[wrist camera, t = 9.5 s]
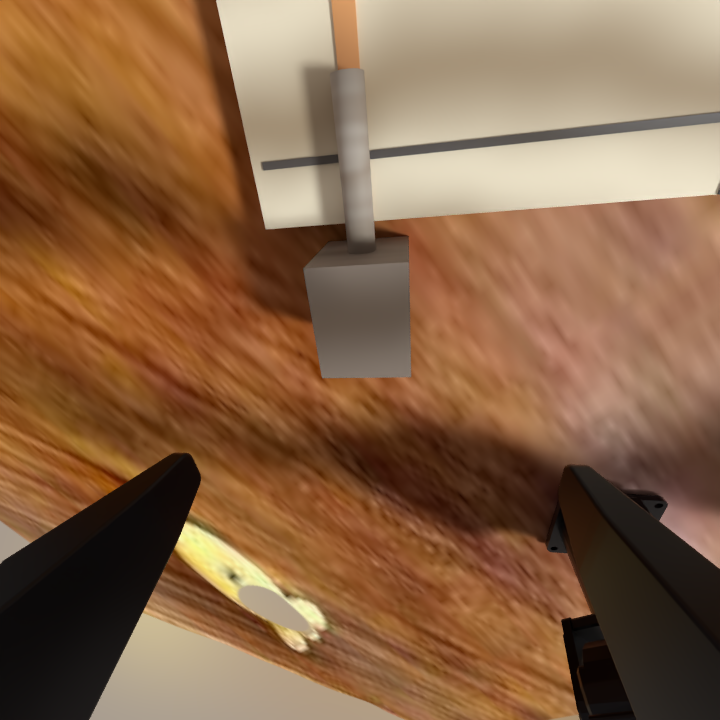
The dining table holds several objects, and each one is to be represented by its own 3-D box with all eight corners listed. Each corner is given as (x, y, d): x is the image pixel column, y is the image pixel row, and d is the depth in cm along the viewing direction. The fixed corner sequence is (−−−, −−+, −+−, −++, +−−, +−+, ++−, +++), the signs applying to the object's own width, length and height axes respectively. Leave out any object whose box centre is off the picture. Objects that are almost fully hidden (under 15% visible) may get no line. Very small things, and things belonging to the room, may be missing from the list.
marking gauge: (410, 328, 19) (411, 377, 15) (340, 330, 20) (322, 378, 15) (405, 79, 14) (404, 43, 9) (309, 93, 14) (267, 65, 10)
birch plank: (794, 182, 14) (838, 185, 12) (276, 224, 17) (264, 229, 16) (947, -131, 10) (1037, -180, 8) (232, 3, 13) (211, -16, 12)
